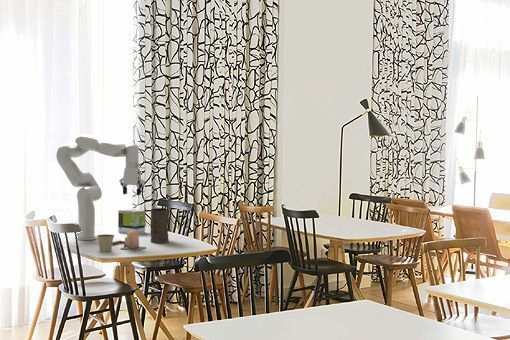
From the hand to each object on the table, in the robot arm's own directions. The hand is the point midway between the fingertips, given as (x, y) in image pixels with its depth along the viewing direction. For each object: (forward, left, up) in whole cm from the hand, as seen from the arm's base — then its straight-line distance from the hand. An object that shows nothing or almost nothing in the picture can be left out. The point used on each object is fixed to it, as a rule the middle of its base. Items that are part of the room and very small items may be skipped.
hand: (131, 194), depth 376 cm
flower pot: (+5, -32, -29) cm, 43 cm away
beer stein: (+14, +10, -28) cm, 33 cm away
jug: (+14, -20, -28) cm, 37 cm away
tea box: (-21, +30, -29) cm, 46 cm away
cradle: (+2, -12, -28) cm, 31 cm away
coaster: (+14, -18, -28) cm, 36 cm away
